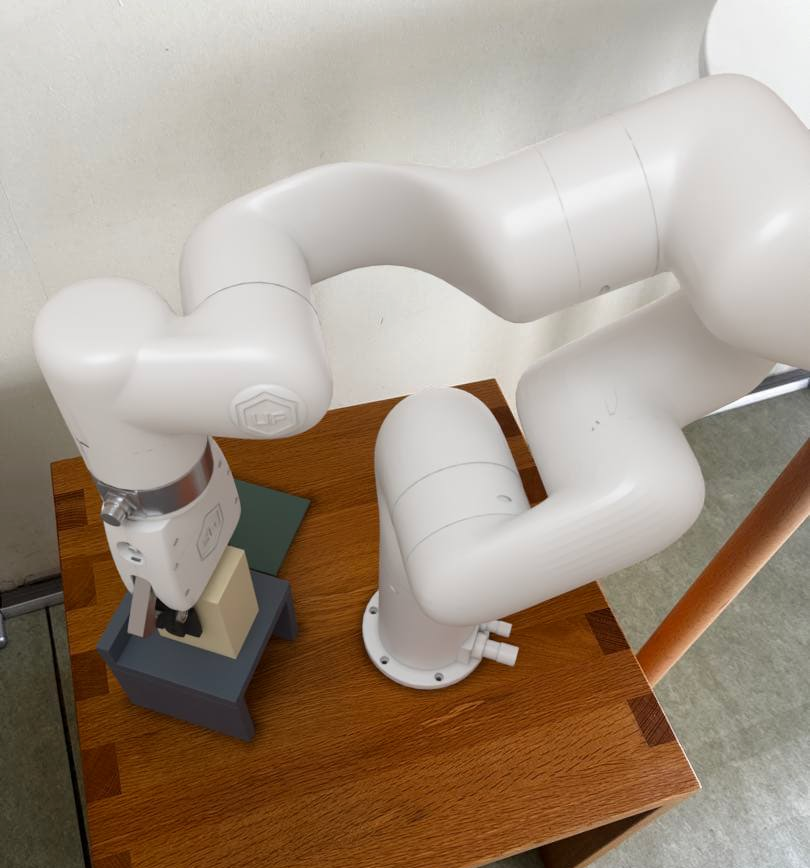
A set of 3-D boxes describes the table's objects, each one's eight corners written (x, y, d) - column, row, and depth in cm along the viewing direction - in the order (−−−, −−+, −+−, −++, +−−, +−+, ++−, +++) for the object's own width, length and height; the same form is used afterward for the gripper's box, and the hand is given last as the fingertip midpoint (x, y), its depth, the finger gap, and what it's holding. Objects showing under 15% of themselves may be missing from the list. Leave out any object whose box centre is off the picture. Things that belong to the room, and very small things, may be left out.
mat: (310, 502, 91) (310, 500, 91) (275, 577, 86) (275, 575, 86) (234, 480, 93) (234, 478, 92) (195, 553, 87) (195, 551, 87)
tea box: (186, 587, 74) (162, 525, 65) (259, 609, 73) (244, 549, 64) (160, 635, 71) (132, 577, 63) (236, 659, 70) (217, 604, 62)
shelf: (298, 631, 83) (288, 567, 72) (250, 742, 77) (231, 690, 66) (188, 597, 85) (162, 530, 74) (132, 703, 78) (95, 647, 68)
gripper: (142, 589, 48) (197, 705, 63) (260, 380, 57) (283, 526, 72) (26, 553, 49) (108, 676, 64) (159, 353, 58) (203, 502, 73)
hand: (200, 595), depth 68 cm, fingers open, 5 cm apart
